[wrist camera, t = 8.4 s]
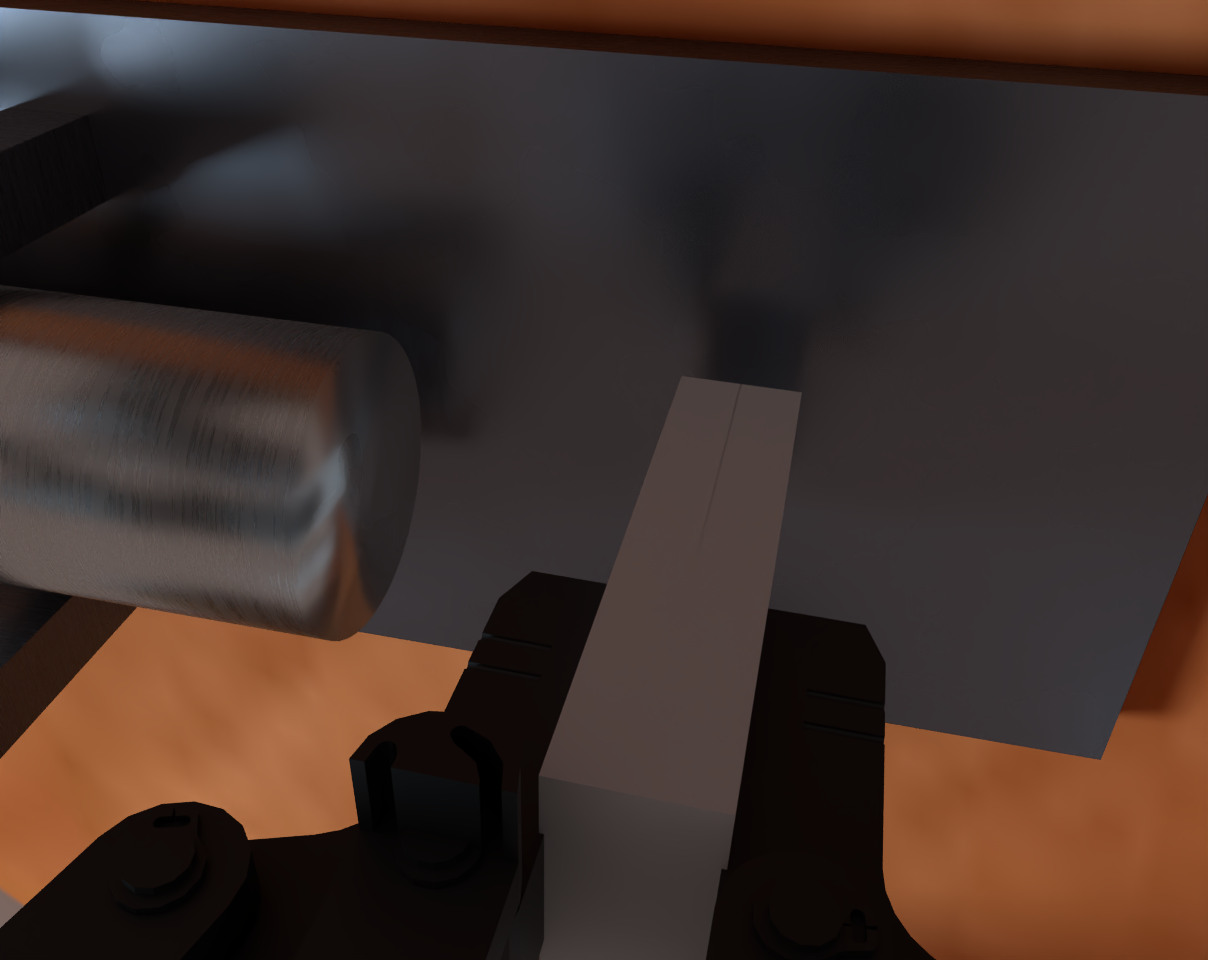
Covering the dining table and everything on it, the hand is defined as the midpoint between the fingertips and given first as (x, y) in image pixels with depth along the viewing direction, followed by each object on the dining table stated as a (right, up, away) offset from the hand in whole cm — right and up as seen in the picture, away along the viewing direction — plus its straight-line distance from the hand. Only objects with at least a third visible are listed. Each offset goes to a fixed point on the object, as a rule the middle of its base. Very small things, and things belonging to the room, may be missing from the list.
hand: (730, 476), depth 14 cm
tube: (-12, +2, +3) cm, 13 cm away
